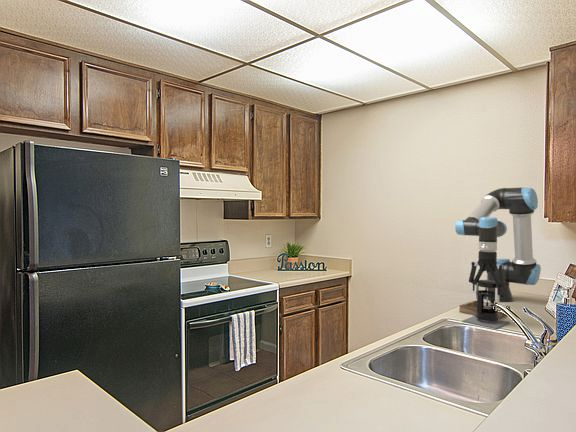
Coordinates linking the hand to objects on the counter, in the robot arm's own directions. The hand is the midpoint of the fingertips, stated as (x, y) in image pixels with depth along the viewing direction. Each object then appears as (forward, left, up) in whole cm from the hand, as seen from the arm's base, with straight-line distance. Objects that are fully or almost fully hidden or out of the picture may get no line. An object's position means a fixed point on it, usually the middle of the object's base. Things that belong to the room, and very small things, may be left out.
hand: (486, 300), depth 188 cm
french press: (0, 0, -9) cm, 9 cm away
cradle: (-17, -8, -10) cm, 21 cm away
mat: (0, 0, -10) cm, 10 cm away
